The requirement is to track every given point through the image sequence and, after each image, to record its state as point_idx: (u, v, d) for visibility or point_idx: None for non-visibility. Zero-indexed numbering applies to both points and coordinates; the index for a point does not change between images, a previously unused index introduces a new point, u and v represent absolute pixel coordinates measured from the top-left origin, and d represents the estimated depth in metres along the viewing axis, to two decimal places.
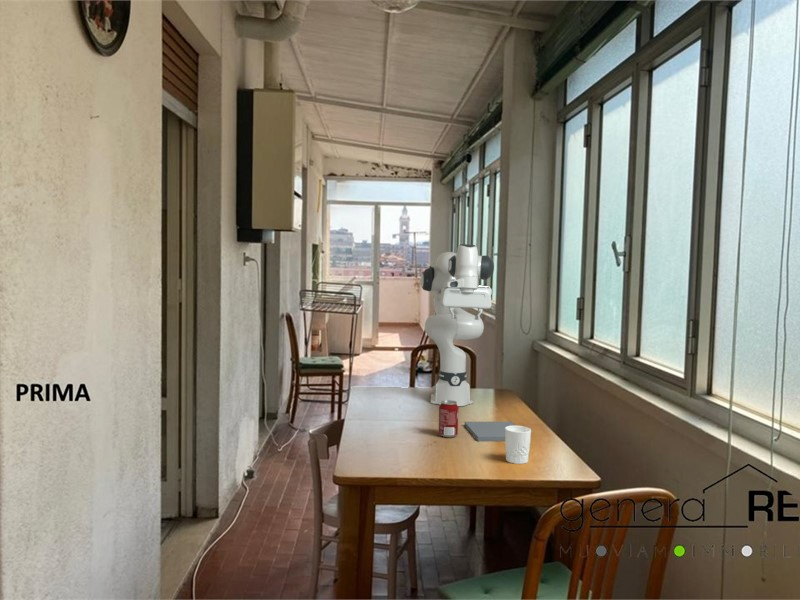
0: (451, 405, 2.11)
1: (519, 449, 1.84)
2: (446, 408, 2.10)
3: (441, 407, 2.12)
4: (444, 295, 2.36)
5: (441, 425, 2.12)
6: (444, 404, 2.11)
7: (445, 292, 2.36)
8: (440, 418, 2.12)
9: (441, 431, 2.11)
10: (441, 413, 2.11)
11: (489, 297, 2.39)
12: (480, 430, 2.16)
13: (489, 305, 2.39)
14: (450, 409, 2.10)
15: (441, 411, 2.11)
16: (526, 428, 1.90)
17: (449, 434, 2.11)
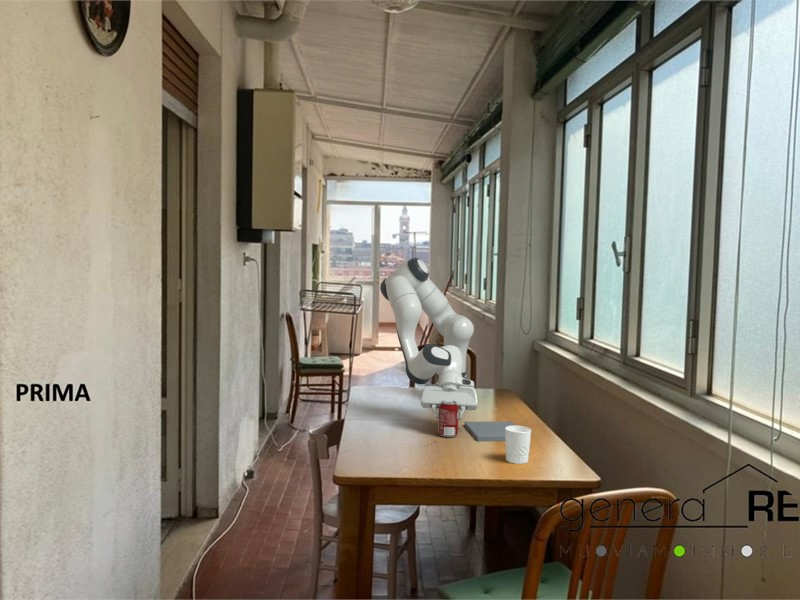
0: (451, 405, 2.11)
1: (519, 449, 1.84)
2: (446, 408, 2.10)
3: (441, 407, 2.12)
4: None
5: (441, 425, 2.12)
6: (444, 404, 2.11)
7: None
8: (440, 418, 2.12)
9: (441, 431, 2.11)
10: (441, 413, 2.11)
11: None
12: (480, 430, 2.16)
13: None
14: (450, 409, 2.10)
15: (441, 411, 2.11)
16: (526, 428, 1.90)
17: (449, 433, 2.10)
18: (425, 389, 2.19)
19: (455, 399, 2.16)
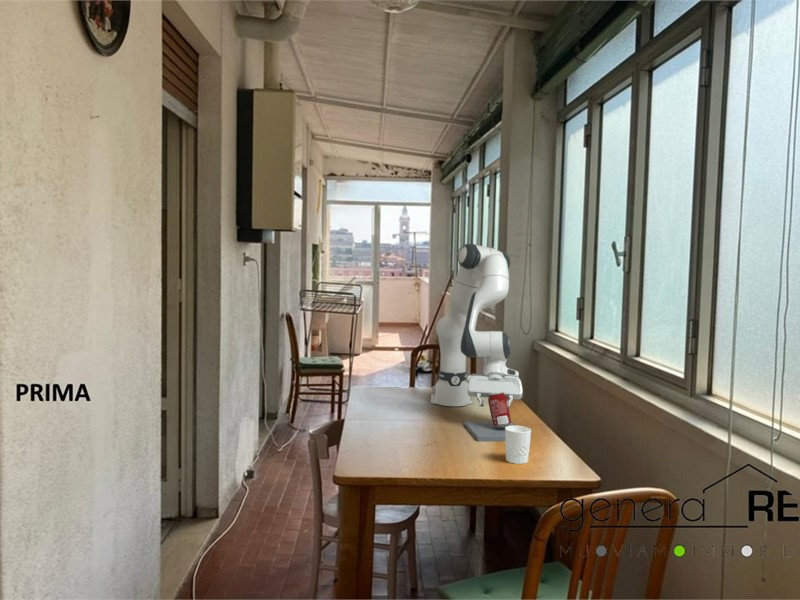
0: (499, 394, 2.18)
1: (519, 449, 1.84)
2: (495, 398, 2.17)
3: (490, 399, 2.19)
4: None
5: (494, 416, 2.17)
6: (492, 395, 2.18)
7: None
8: (491, 410, 2.18)
9: (495, 422, 2.17)
10: (491, 404, 2.18)
11: None
12: (480, 430, 2.16)
13: None
14: (499, 398, 2.17)
15: (491, 402, 2.18)
16: (526, 428, 1.90)
17: (503, 422, 2.16)
18: (471, 378, 2.28)
19: (501, 388, 2.24)
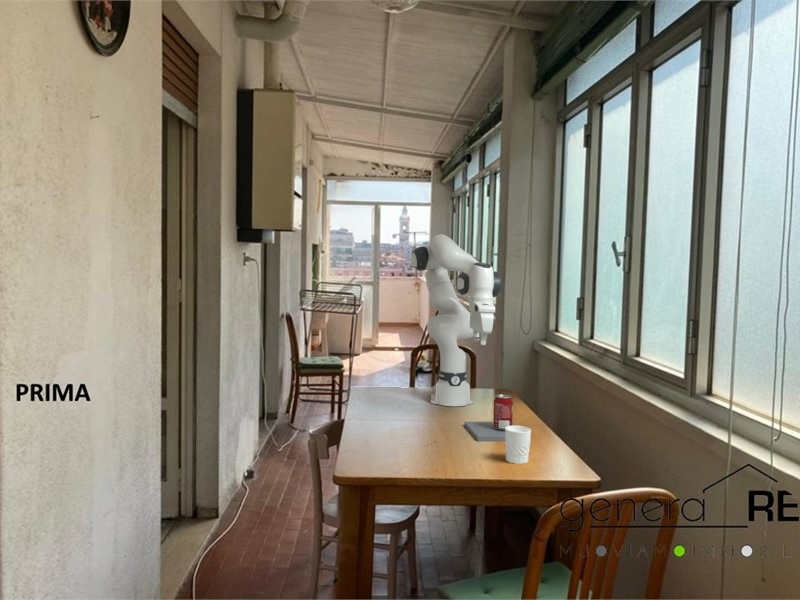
0: (506, 399, 2.16)
1: (519, 449, 1.84)
2: (501, 402, 2.15)
3: (496, 401, 2.17)
4: (492, 321, 2.18)
5: (496, 418, 2.17)
6: (499, 398, 2.16)
7: None
8: (495, 411, 2.17)
9: (496, 424, 2.17)
10: (496, 406, 2.17)
11: None
12: (480, 430, 2.16)
13: None
14: (505, 403, 2.15)
15: (496, 405, 2.17)
16: (526, 428, 1.90)
17: (504, 427, 2.15)
18: (470, 313, 2.36)
19: (477, 325, 2.25)
